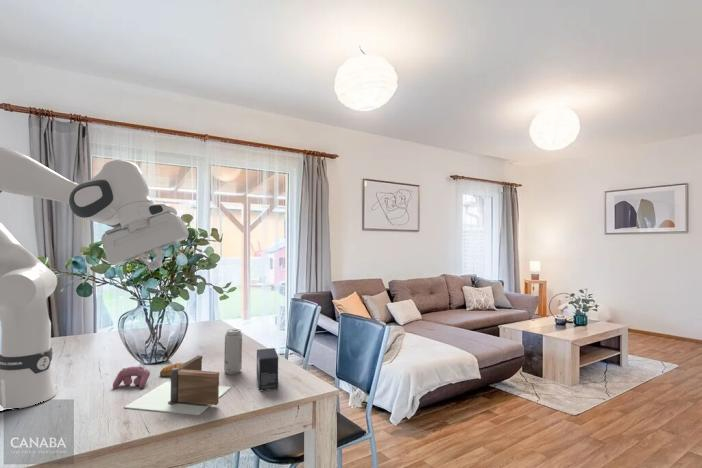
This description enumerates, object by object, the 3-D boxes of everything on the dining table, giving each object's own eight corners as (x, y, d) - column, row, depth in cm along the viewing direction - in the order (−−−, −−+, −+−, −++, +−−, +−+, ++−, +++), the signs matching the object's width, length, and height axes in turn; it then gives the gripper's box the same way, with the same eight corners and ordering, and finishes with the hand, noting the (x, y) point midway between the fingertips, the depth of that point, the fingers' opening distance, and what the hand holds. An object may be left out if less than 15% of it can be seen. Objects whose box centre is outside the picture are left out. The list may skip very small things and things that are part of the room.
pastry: (160, 379, 128) (160, 368, 129) (159, 373, 134) (160, 362, 135) (189, 375, 133) (190, 364, 133) (188, 369, 139) (188, 358, 139)
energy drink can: (224, 369, 138) (225, 328, 138) (241, 368, 140) (242, 328, 140) (223, 375, 132) (224, 333, 133) (241, 374, 134) (242, 332, 134)
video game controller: (148, 389, 123) (153, 367, 126) (142, 388, 119) (147, 365, 122) (117, 389, 123) (123, 367, 126) (110, 388, 119) (116, 365, 122)
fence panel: (215, 405, 108) (216, 374, 108) (177, 402, 109) (178, 371, 109) (218, 403, 109) (219, 372, 109) (180, 399, 111) (181, 369, 111)
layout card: (123, 408, 107) (123, 406, 107) (166, 382, 125) (166, 381, 125) (199, 415, 103) (199, 413, 103) (231, 387, 122) (231, 386, 122)
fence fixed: (168, 404, 109) (169, 370, 109) (196, 385, 124) (197, 354, 124) (175, 405, 109) (176, 370, 109) (202, 385, 123) (203, 355, 123)
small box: (255, 379, 130) (255, 348, 130) (274, 377, 132) (274, 347, 132) (258, 391, 120) (258, 358, 120) (278, 389, 122) (279, 356, 122)
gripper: (91, 231, 93) (109, 283, 92) (171, 201, 95) (189, 252, 94) (106, 235, 99) (123, 283, 98) (181, 207, 101) (198, 254, 100)
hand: (156, 268), depth 96 cm, fingers closed
